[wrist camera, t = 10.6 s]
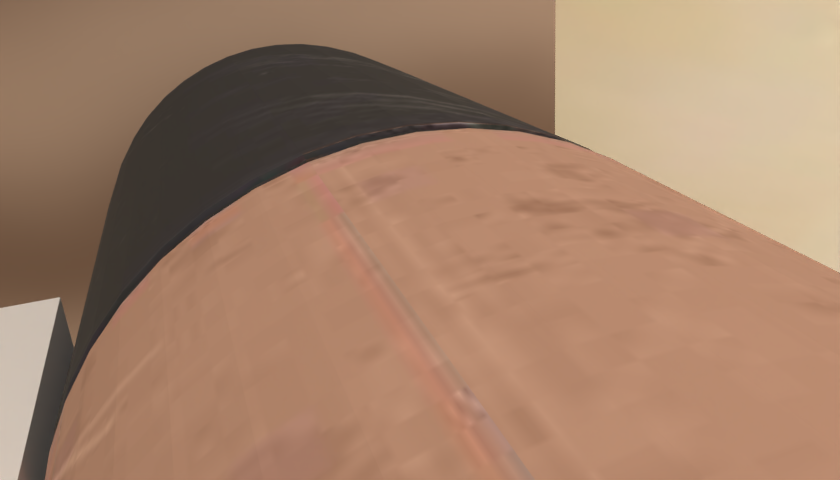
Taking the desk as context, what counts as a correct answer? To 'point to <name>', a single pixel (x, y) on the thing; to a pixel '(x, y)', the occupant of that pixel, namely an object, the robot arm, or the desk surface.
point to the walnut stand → (180, 59)
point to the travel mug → (428, 301)
